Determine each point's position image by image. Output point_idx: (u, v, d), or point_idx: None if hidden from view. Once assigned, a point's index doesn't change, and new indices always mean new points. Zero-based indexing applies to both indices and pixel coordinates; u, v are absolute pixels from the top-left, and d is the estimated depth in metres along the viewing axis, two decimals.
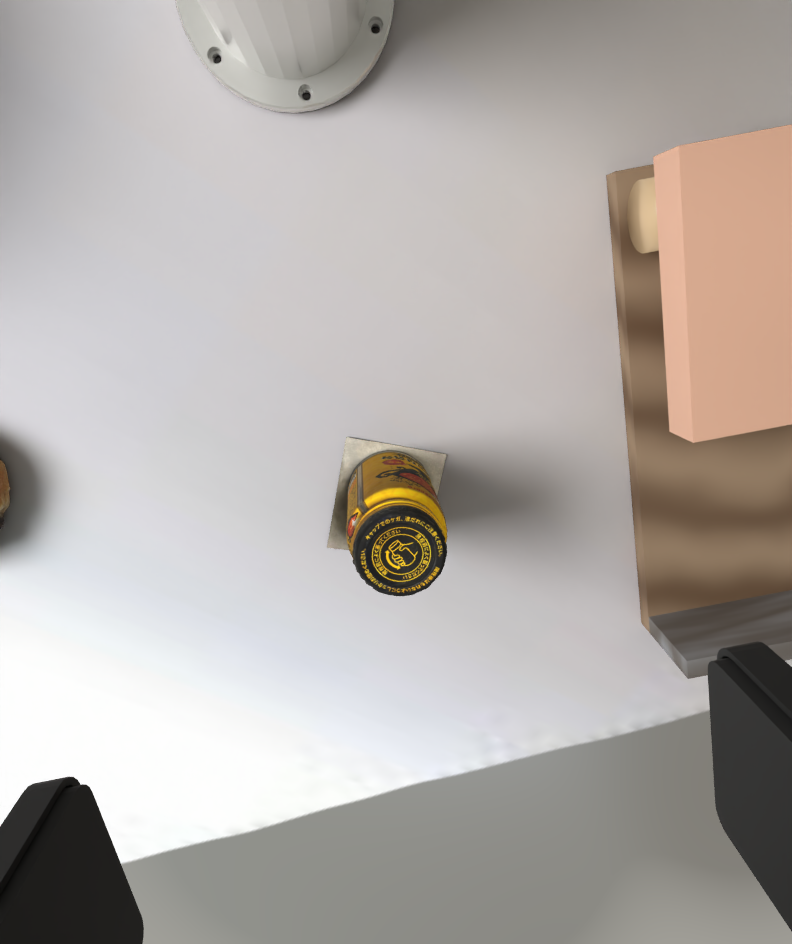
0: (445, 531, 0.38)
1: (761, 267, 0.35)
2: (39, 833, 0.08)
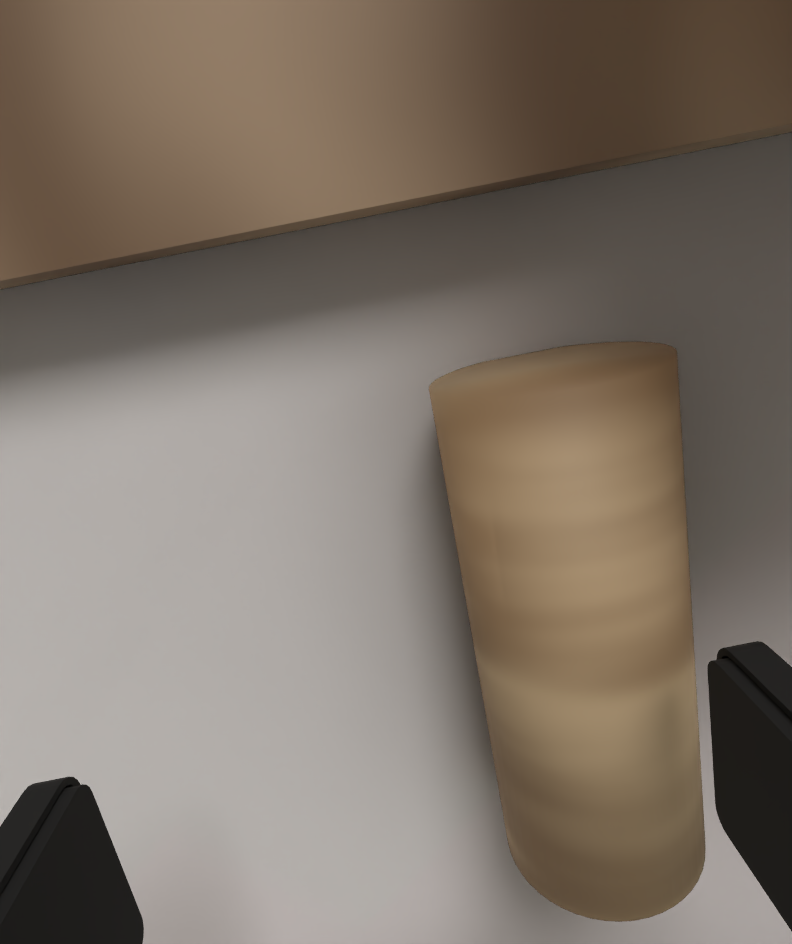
0: None
1: None
2: (39, 833, 0.08)
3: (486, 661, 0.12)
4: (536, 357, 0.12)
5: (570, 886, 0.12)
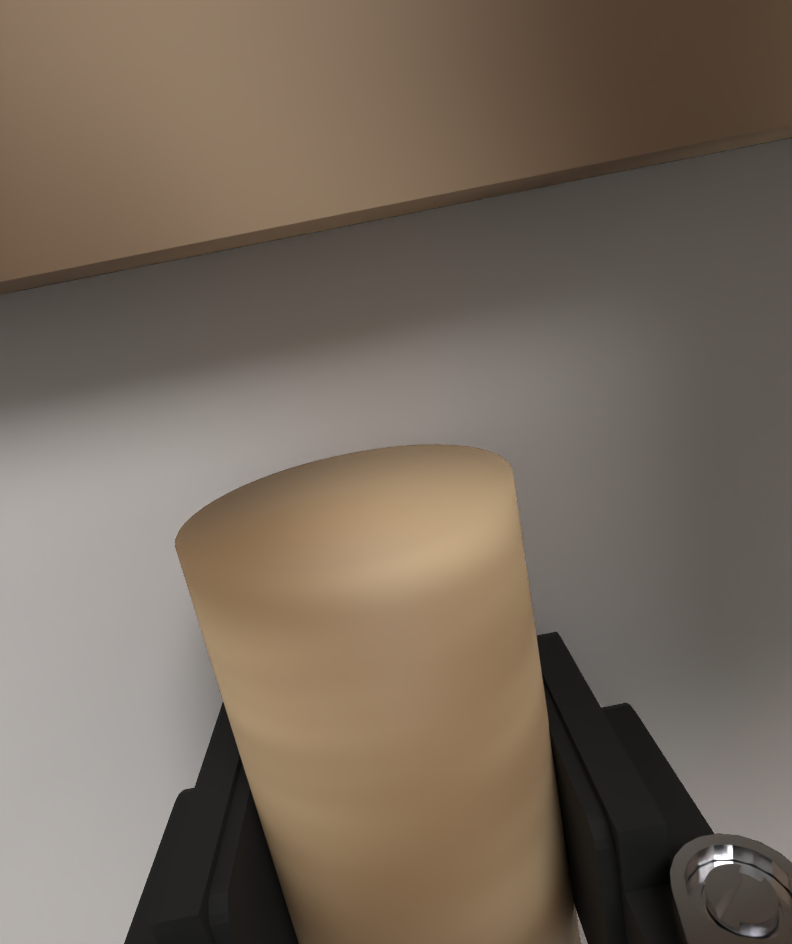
0: None
1: None
2: None
3: None
4: (441, 472, 0.08)
5: None
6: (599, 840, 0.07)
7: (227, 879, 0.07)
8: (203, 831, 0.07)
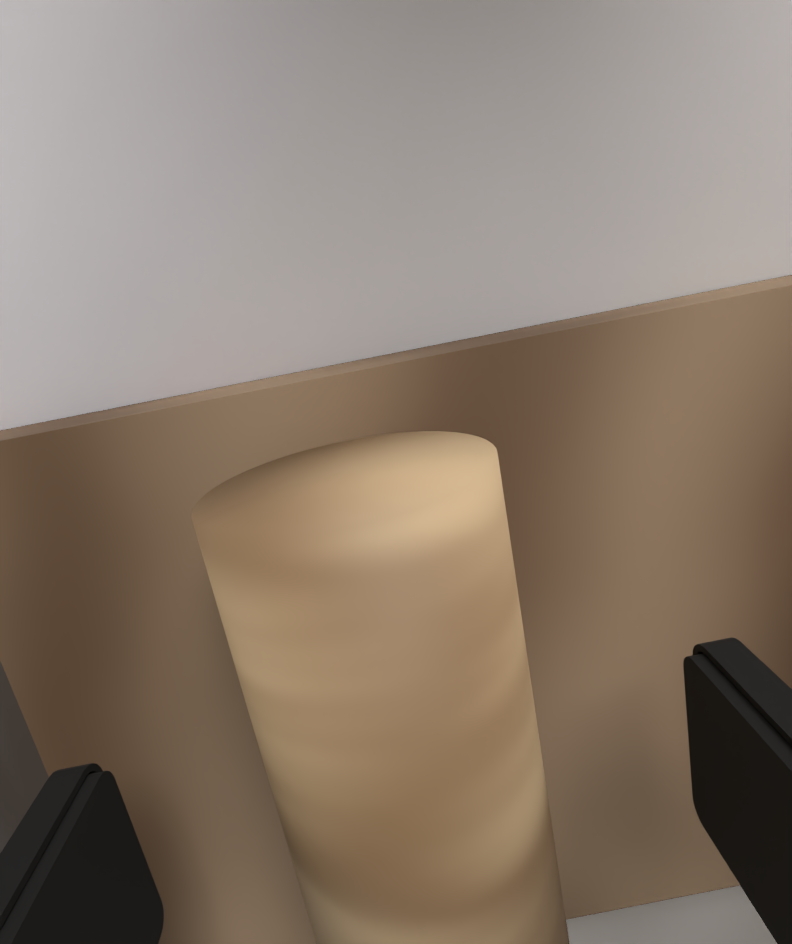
0: None
1: None
2: (66, 816, 0.08)
3: None
4: (433, 455, 0.09)
5: None
6: None
7: None
8: None
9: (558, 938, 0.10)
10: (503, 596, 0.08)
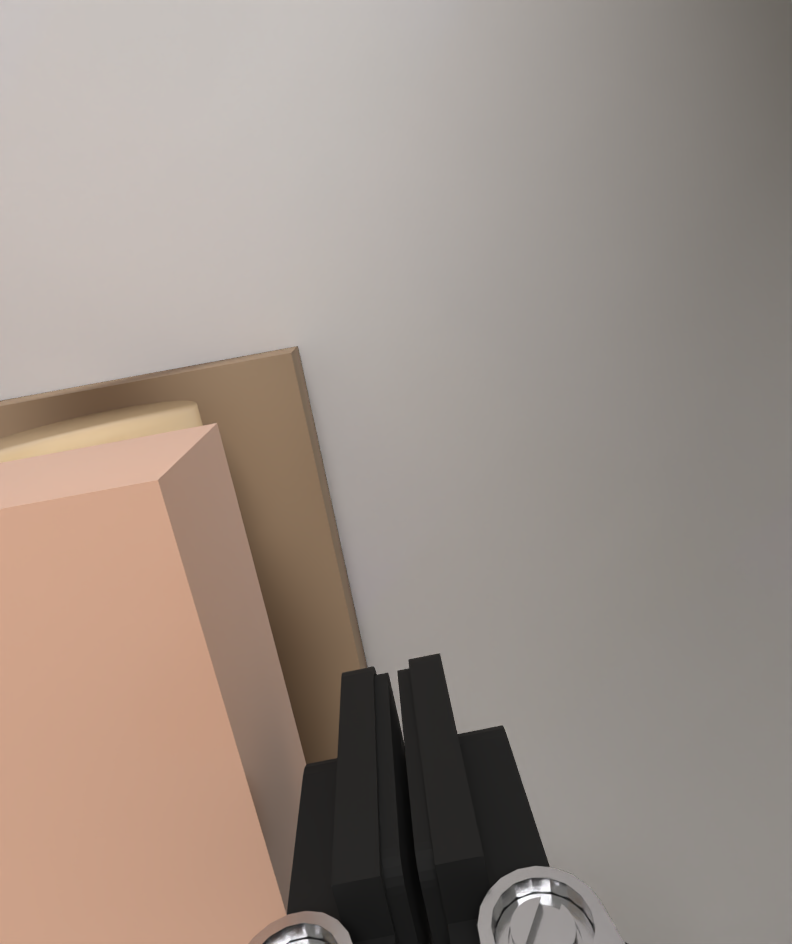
0: None
1: None
2: (378, 704, 0.09)
3: None
4: None
5: None
6: (424, 872, 0.07)
7: (394, 843, 0.07)
8: (359, 798, 0.07)
9: None
10: None
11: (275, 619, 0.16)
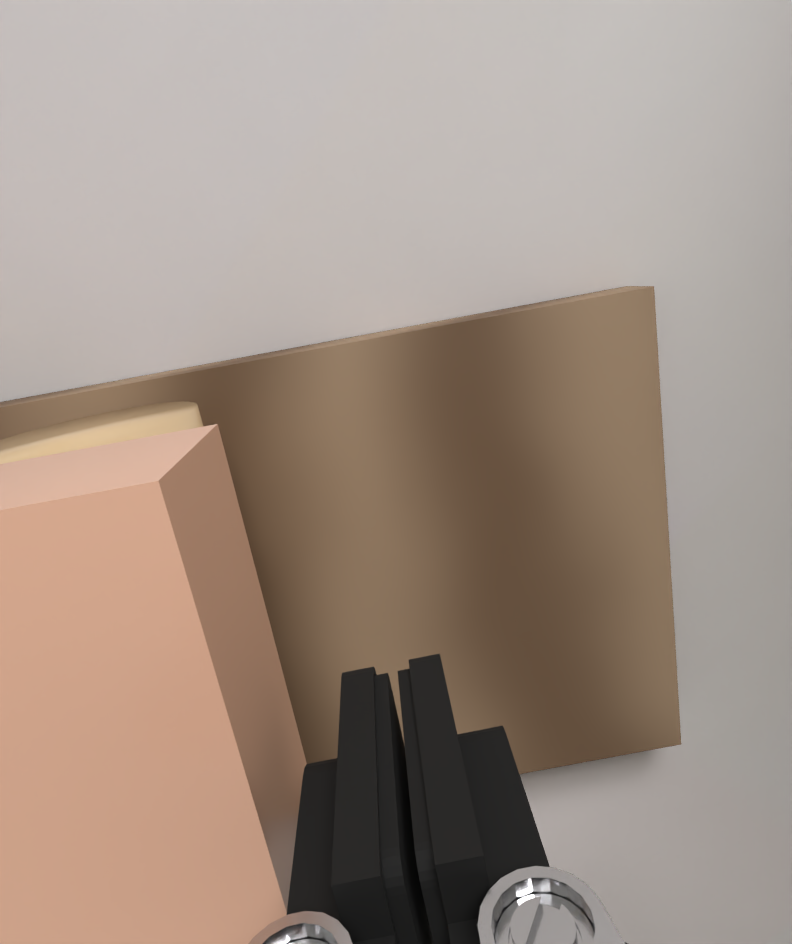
0: None
1: None
2: (378, 704, 0.09)
3: None
4: None
5: None
6: (424, 871, 0.07)
7: (394, 843, 0.07)
8: (359, 798, 0.07)
9: None
10: None
11: (598, 560, 0.16)
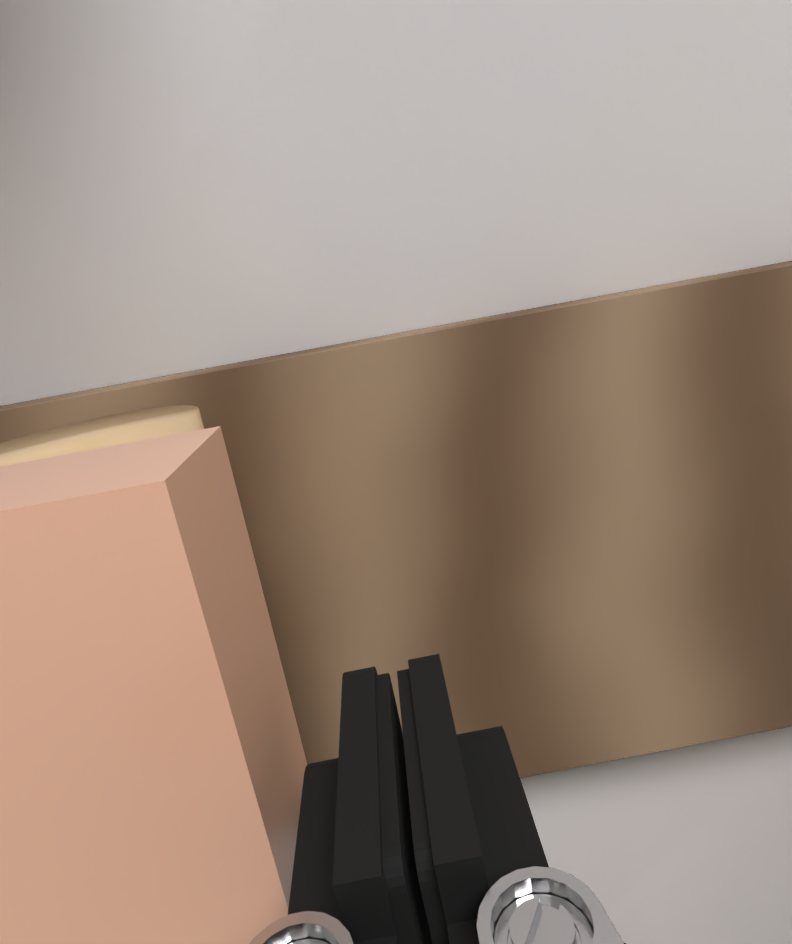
0: None
1: None
2: (379, 704, 0.09)
3: None
4: None
5: None
6: (423, 872, 0.07)
7: (395, 844, 0.07)
8: (361, 798, 0.07)
9: None
10: None
11: None
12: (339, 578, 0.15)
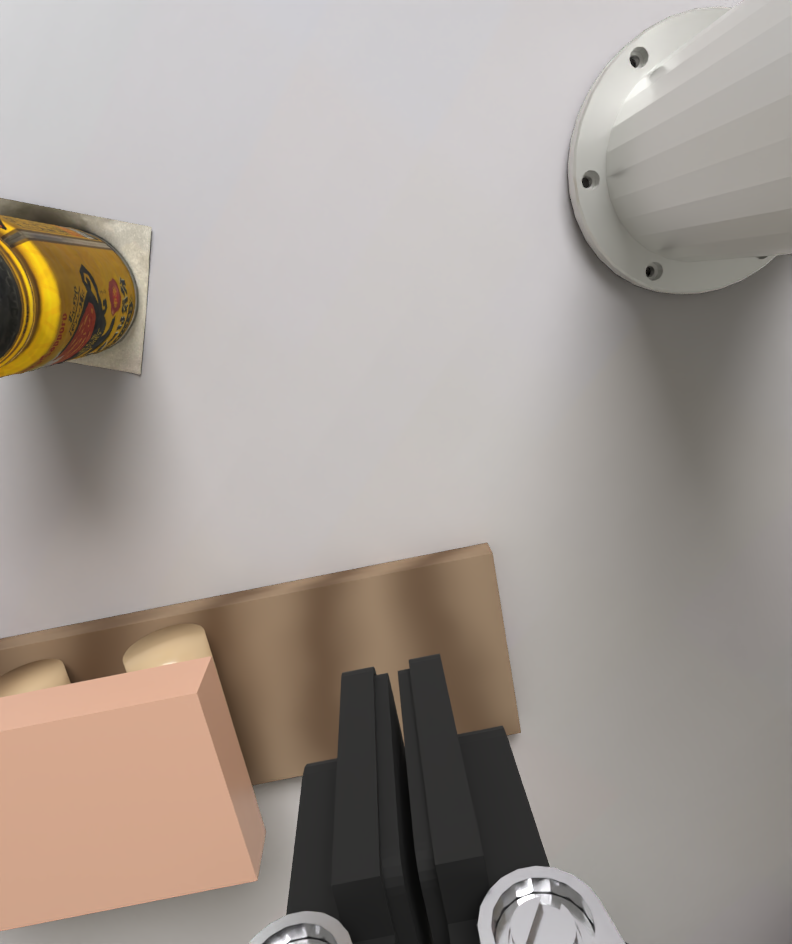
0: None
1: (77, 797, 0.30)
2: (378, 704, 0.09)
3: None
4: (40, 681, 0.34)
5: None
6: (424, 872, 0.07)
7: (394, 843, 0.07)
8: (359, 798, 0.07)
9: None
10: None
11: (478, 655, 0.37)
12: (262, 684, 0.37)
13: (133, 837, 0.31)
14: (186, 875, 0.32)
